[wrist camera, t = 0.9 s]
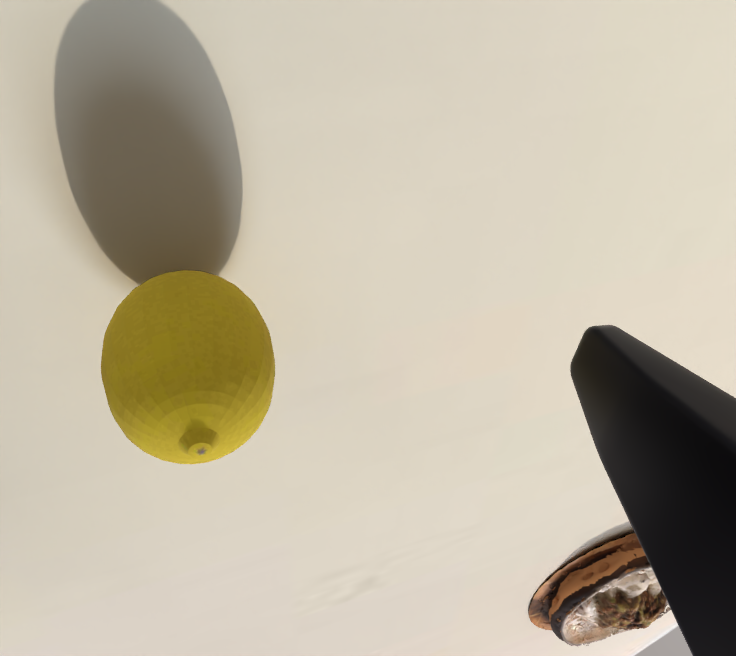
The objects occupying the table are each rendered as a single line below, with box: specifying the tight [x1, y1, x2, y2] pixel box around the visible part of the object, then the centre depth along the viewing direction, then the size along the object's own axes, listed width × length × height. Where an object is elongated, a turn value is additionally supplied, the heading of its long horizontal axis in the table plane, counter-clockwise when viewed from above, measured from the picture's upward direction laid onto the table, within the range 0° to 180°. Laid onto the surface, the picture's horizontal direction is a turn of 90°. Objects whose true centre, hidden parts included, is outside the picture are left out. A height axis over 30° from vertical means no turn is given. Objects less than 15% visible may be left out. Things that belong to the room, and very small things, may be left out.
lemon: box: [101, 270, 275, 464], centre depth 21 cm, size 6×6×8 cm
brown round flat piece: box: [529, 533, 671, 646], centre depth 52 cm, size 15×15×4 cm
